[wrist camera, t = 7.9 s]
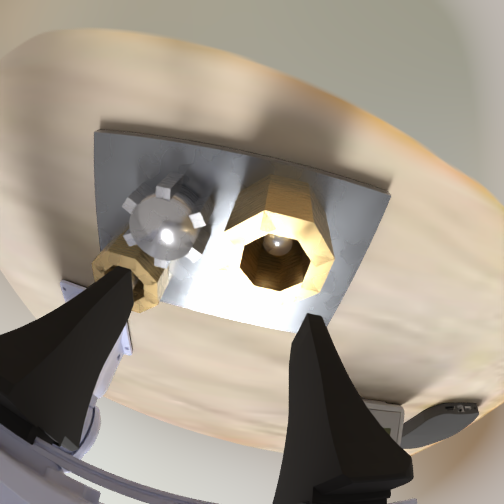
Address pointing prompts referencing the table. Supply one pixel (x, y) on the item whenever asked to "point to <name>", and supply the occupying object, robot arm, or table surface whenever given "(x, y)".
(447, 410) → the media streaming box
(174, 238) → the plate
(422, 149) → the table surface
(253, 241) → the brass octagonal sleeve
